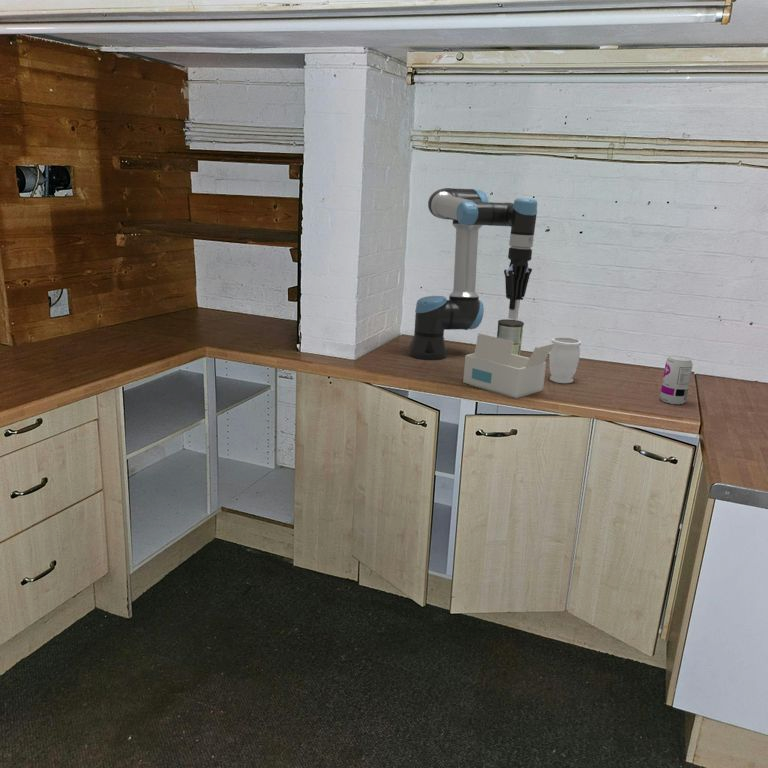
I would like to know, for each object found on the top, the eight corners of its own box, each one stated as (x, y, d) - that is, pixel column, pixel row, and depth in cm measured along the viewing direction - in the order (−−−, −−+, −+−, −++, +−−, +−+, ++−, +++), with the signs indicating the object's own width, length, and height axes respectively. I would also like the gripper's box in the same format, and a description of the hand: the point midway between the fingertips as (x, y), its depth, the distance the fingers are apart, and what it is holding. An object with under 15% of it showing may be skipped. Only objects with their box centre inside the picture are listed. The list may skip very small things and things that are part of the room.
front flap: (474, 356, 236) (473, 356, 235) (479, 333, 235) (478, 333, 234) (509, 365, 226) (508, 365, 226) (513, 341, 225) (512, 341, 225)
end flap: (535, 346, 222) (537, 347, 221) (552, 342, 229) (553, 343, 228) (525, 366, 226) (526, 368, 226) (541, 362, 233) (543, 363, 233)
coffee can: (490, 352, 288) (493, 319, 284) (512, 352, 291) (516, 319, 287) (502, 359, 278) (505, 324, 274) (524, 358, 282) (528, 324, 278)
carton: (461, 383, 242) (464, 355, 239) (490, 375, 253) (492, 348, 251) (515, 399, 227) (519, 369, 224) (543, 390, 238) (547, 362, 236)
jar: (554, 375, 259) (559, 335, 255) (580, 380, 253) (586, 340, 248) (541, 380, 251) (546, 339, 247) (568, 386, 245) (573, 344, 240)
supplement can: (659, 403, 231) (667, 359, 227) (659, 396, 238) (666, 354, 234) (685, 406, 228) (693, 362, 224) (685, 400, 236) (692, 357, 231)
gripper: (518, 249, 220) (510, 323, 226) (541, 248, 229) (533, 318, 235) (499, 247, 225) (492, 318, 231) (522, 245, 234) (514, 314, 240)
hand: (512, 318), depth 233 cm, fingers closed
